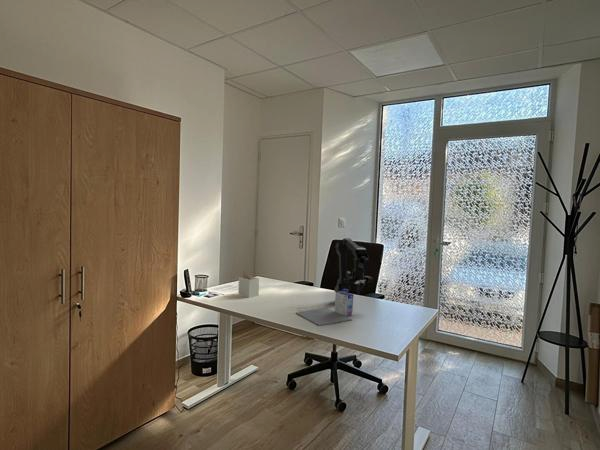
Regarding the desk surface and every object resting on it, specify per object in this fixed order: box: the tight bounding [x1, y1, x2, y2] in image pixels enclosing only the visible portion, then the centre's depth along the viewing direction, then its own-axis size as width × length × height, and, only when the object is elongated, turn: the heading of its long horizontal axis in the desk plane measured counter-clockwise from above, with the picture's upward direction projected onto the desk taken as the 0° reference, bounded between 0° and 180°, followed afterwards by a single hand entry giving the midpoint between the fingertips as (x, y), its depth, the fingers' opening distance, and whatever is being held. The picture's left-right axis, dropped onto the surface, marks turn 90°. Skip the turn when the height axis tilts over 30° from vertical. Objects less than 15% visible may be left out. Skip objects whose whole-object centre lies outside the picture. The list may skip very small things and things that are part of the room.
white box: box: [237, 271, 260, 299], centre depth 243 cm, size 9×11×17 cm
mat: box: [295, 307, 353, 327], centre depth 201 cm, size 22×24×1 cm
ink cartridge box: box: [334, 289, 354, 317], centre depth 209 cm, size 10×6×14 cm, turn 42°
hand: (358, 294), depth 214 cm, fingers closed
